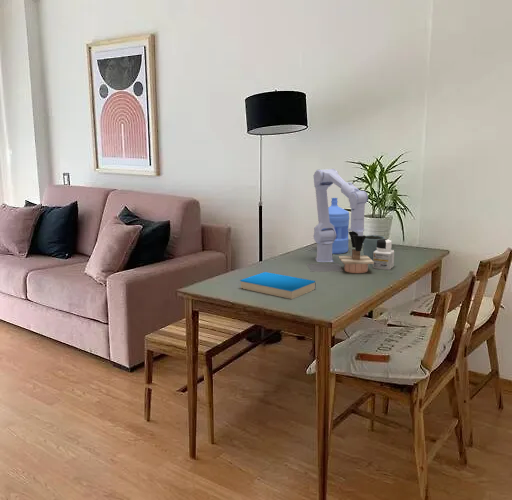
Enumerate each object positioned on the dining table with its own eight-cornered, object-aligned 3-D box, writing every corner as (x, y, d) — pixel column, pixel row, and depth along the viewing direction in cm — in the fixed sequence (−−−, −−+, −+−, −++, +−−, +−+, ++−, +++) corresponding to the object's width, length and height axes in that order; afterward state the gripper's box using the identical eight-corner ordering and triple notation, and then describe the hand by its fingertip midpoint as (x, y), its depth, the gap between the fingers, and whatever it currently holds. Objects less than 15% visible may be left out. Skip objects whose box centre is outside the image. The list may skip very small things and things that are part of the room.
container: (372, 268, 242) (373, 240, 240) (377, 264, 249) (378, 237, 246) (389, 270, 239) (390, 241, 236) (393, 266, 245) (394, 238, 243)
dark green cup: (382, 259, 260) (383, 235, 258) (384, 264, 250) (386, 239, 248) (361, 259, 261) (361, 235, 259) (363, 263, 251) (363, 238, 249)
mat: (306, 265, 250) (306, 263, 250) (338, 264, 250) (338, 263, 250) (310, 272, 235) (310, 271, 235) (344, 272, 235) (344, 271, 235)
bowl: (342, 268, 242) (343, 258, 241) (364, 268, 242) (365, 257, 241) (346, 274, 232) (347, 263, 231) (369, 274, 232) (370, 263, 231)
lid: (338, 257, 242) (338, 247, 241) (367, 257, 242) (367, 246, 241) (343, 264, 229) (344, 253, 228) (373, 263, 230) (374, 252, 229)
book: (292, 290, 196) (239, 279, 211) (292, 301, 197) (239, 289, 212) (316, 280, 209) (265, 270, 224) (316, 290, 210) (265, 280, 225)
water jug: (313, 249, 285) (314, 197, 279) (340, 247, 289) (341, 196, 284) (325, 255, 270) (327, 200, 264) (353, 253, 275) (355, 199, 269)
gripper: (345, 216, 239) (344, 246, 242) (351, 221, 225) (350, 252, 228) (361, 216, 239) (360, 245, 242) (368, 221, 225) (367, 252, 228)
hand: (356, 249), depth 235 cm, fingers open, 7 cm apart
